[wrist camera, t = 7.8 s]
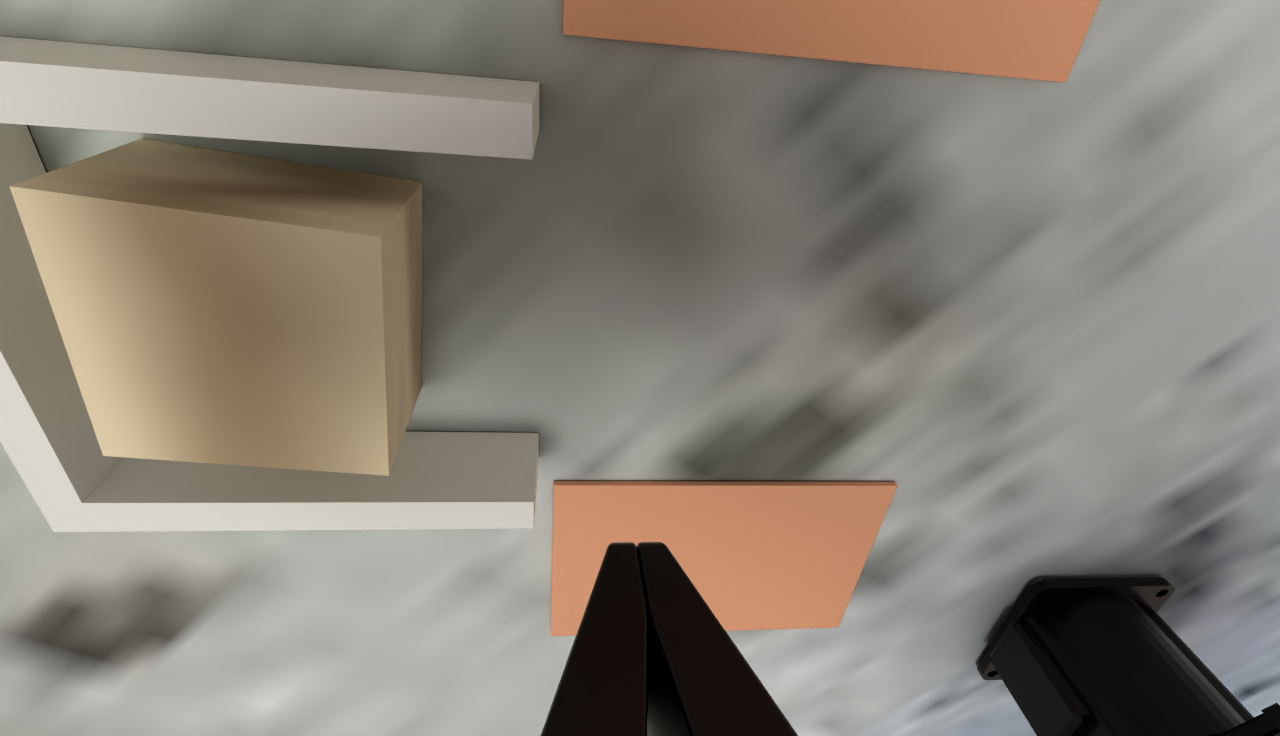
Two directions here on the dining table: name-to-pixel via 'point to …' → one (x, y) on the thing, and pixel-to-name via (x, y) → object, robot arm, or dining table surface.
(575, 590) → the mats
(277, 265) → the block
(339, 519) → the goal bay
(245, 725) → the dining table surface
